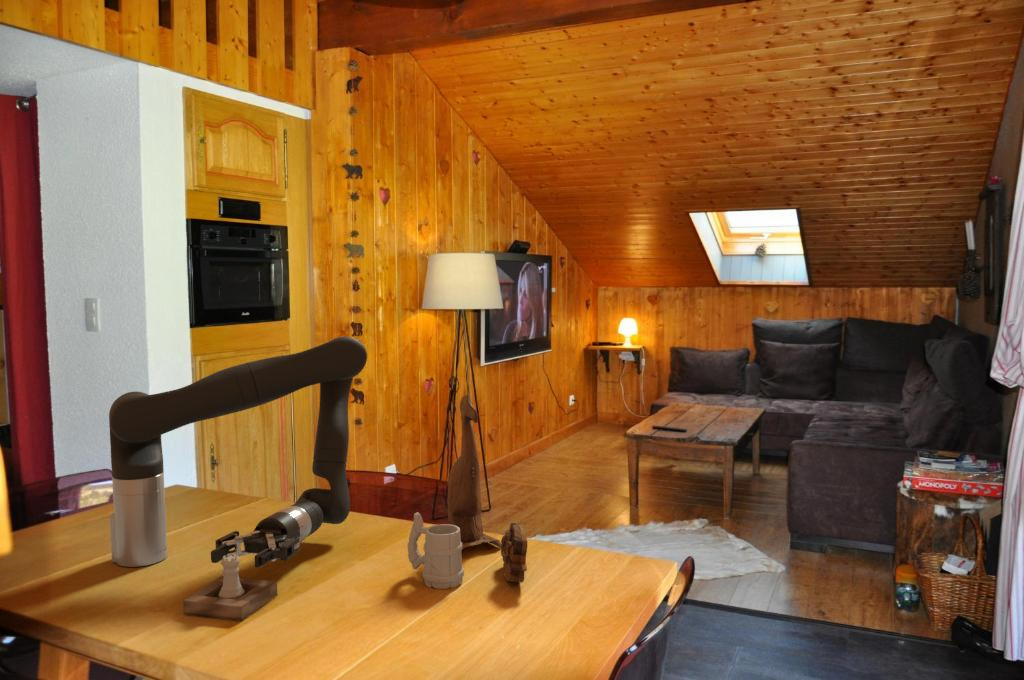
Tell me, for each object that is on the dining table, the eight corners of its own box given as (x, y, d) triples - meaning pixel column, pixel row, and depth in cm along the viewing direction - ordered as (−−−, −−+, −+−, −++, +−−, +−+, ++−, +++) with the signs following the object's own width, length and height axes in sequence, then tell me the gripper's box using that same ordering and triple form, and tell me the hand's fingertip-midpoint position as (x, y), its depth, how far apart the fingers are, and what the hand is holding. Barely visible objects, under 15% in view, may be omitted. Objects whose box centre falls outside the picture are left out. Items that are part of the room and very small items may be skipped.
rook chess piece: (251, 598, 141) (249, 553, 140) (234, 608, 137) (232, 562, 136) (229, 594, 143) (228, 550, 142) (212, 604, 138) (210, 559, 138)
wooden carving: (492, 563, 158) (492, 513, 158) (515, 561, 159) (515, 512, 159) (509, 597, 142) (509, 541, 142) (535, 594, 143) (535, 539, 142)
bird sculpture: (458, 562, 160) (460, 402, 156) (425, 545, 169) (427, 393, 165) (502, 550, 167) (506, 397, 163) (469, 534, 176) (472, 388, 172)
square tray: (183, 614, 136) (182, 600, 135) (222, 589, 146) (222, 575, 146) (241, 621, 133) (241, 606, 133) (277, 595, 144) (276, 581, 143)
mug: (448, 593, 144) (447, 527, 143) (396, 580, 150) (395, 516, 149) (472, 578, 151) (471, 515, 150) (421, 567, 157) (420, 506, 156)
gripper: (250, 508, 157) (197, 535, 142) (316, 514, 154) (270, 542, 138) (251, 546, 158) (199, 577, 142) (317, 552, 154) (271, 585, 139)
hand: (234, 559), depth 140 cm, fingers open, 8 cm apart
